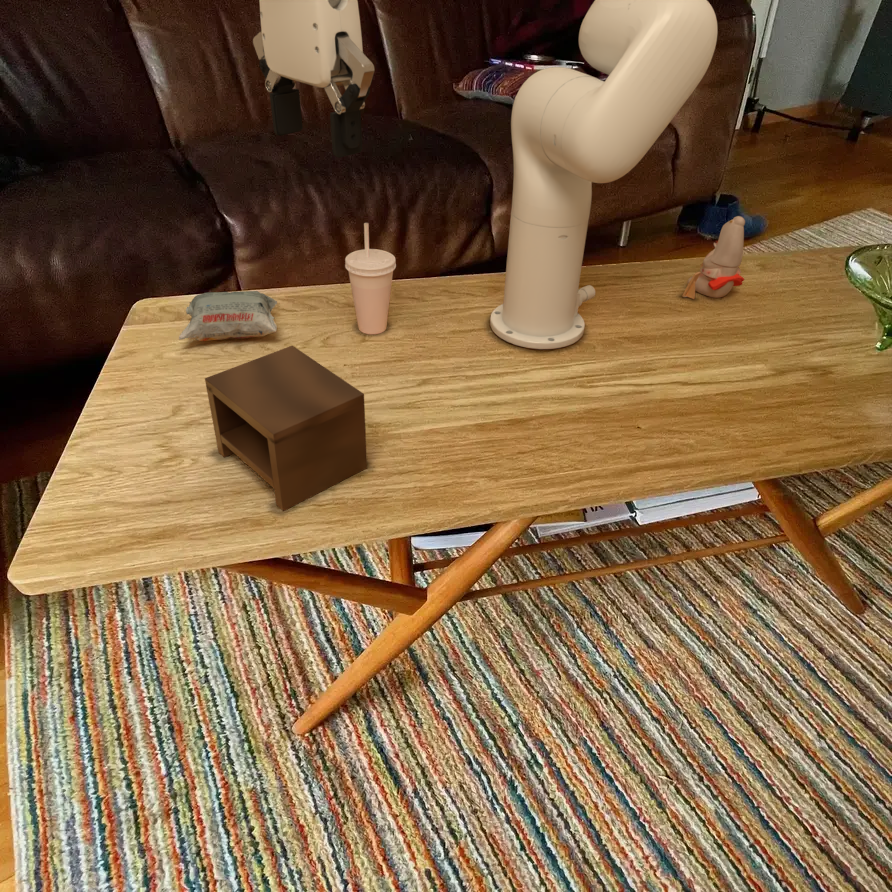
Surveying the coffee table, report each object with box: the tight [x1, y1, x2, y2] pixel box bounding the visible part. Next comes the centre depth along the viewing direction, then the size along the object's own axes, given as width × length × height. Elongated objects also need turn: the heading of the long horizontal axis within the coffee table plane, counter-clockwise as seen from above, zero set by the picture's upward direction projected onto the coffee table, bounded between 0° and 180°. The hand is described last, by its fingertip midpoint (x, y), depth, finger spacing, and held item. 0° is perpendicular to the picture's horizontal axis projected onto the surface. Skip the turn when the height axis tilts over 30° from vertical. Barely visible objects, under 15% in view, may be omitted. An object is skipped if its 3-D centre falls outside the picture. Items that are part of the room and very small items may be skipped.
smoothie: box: [344, 222, 397, 335], centre depth 97 cm, size 6×6×14 cm
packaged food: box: [178, 290, 278, 342], centre depth 97 cm, size 9×12×5 cm
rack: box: [204, 345, 368, 512], centre depth 75 cm, size 10×12×9 cm
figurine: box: [681, 215, 746, 300], centre depth 109 cm, size 9×7×12 cm
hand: (317, 143), depth 76 cm, fingers open, 9 cm apart
